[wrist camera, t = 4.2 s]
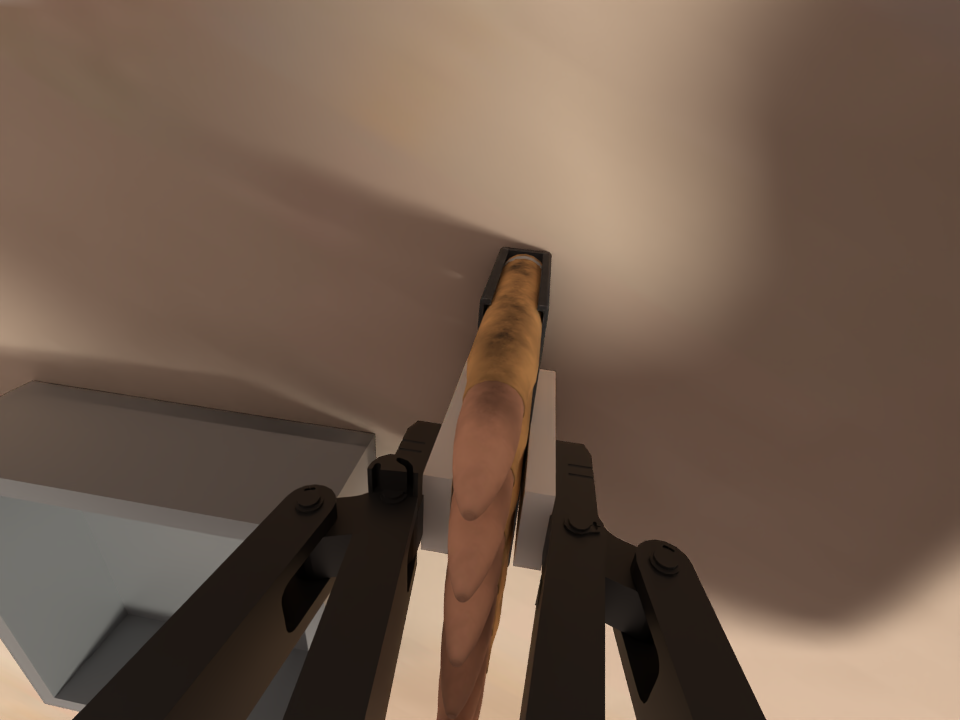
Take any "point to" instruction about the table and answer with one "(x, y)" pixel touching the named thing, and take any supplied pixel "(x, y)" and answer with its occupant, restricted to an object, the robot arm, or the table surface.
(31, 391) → the bin
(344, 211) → the table surface
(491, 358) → the ammunition clip
